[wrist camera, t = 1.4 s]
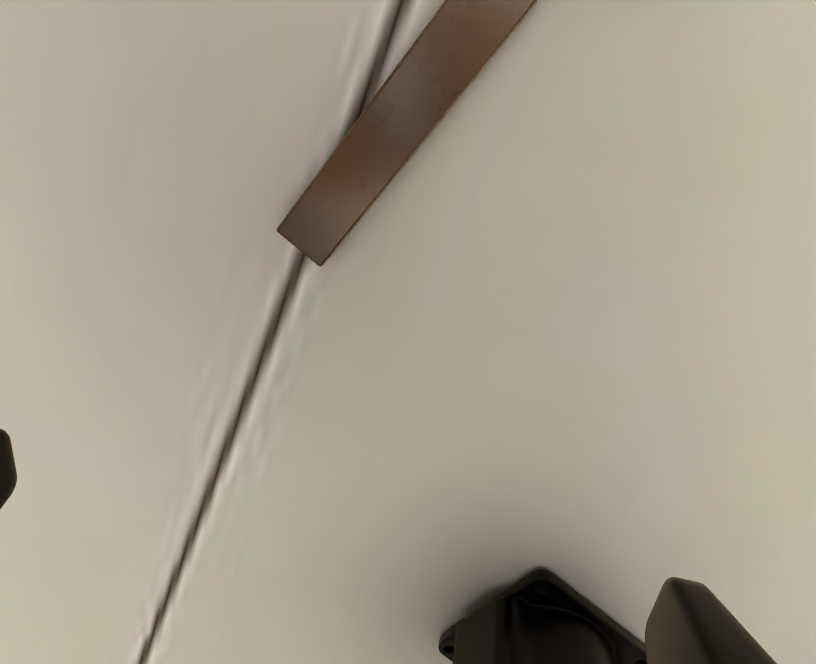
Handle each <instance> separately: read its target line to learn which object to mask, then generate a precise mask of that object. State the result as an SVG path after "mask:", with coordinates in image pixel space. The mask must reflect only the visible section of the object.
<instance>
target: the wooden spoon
mask: <svg viewBox="0 0 816 664" xmlns="http://www.w3.org/2000/svg"><path fill="white" fill-rule="evenodd" d="M536 2H537V0H445V2H444V3H443V5H442V6H441V7H440V9H439V10H438V11H437V13H436V14H435V15H434V17H433V18H432V19H431V21H430V22H429V23H428V25H427V26H426V28H425V29H424V30H423V32H422V33H421V34H420V36H419V37H418V38H417V40H416V41H415V42H414V44H413V45H412V47H411V48H410V49H409V51H408V52H407V53H406V55H405V56H404V57H403V59H402V60H401V61H400V63H399V64H398V65H397V67H396V68H395V70H394V71H393V72H392V74H391V75H390V76H389V78H388V79H387V80H386V82H385V83H384V84H383V86H382V87H381V88H380V90H379V91H378V93H377V94H376V95H375V97H374V98H373V99H372V101H371V102H370V103H369V105H368V106H367V107H366V109H365V110H364V112H363V113H362V114H361V116H360V117H359V118H358V120H357V121H356V122H355V124H354V125H353V126H352V128H351V129H350V130H349V132H348V133H347V135H346V136H345V137H344V139H343V140H342V141H341V143H340V144H339V145H338V147H337V148H336V149H335V151H334V152H333V153H332V155H331V156H330V158H329V159H328V160H327V162H326V163H325V164H324V166H323V167H322V168H321V170H320V171H319V172H318V174H317V175H316V177H315V178H314V179H313V181H312V182H311V183H310V185H309V186H308V187H307V189H306V190H305V191H304V193H303V194H302V195H301V197H300V198H299V200H298V201H297V202H296V204H295V205H294V206H293V208H292V209H291V210H290V212H289V213H288V214H287V216H286V217H285V219H284V220H283V221H282V223H281V224H280V225H279V227H278V228H277V232H278V233H280V234H281V235H282V236H283V237H284V238H286V239H287V240H288V241H289V242H291V243H292V244H293V245H294V246H295V247H297V248H298V249H299V250H300V251H301V252H303V253H304V254H305V255H306V256H307V257H309V258H310V259H311V260H312V261H314V262H315V263H316V264H317V265H318V266H323V265H324V263H325V262H326V261H327V260H328V259H329V258H330V257H331V255H332V254H333V253H334V252H335V250H336V249H337V248H338V247H339V246H340V244H341V243H342V242H343V241H344V239H345V238H346V237H347V236H348V234H349V233H350V232H351V231H352V230H353V228H354V227H355V226H356V225H357V223H358V222H359V221H360V220H361V218H362V217H363V216H364V215H365V213H366V212H367V211H368V210H369V209H370V207H371V206H372V205H373V204H374V202H375V201H376V200H377V199H378V197H379V196H380V195H381V194H382V193H383V191H384V190H385V189H386V188H387V186H388V185H389V184H390V183H391V181H392V180H393V179H394V178H395V176H396V175H397V174H398V173H399V172H400V170H401V169H402V168H403V167H404V165H405V164H406V163H407V162H408V160H409V159H410V158H411V157H412V156H413V154H414V153H415V152H416V151H417V149H418V148H419V147H420V146H421V144H422V143H423V142H424V141H425V139H426V138H427V137H428V136H429V135H430V133H431V132H432V131H433V130H434V128H435V127H436V126H437V125H438V123H439V122H440V121H441V120H442V119H443V117H444V116H445V115H446V114H447V112H448V111H449V110H450V109H451V107H452V106H453V105H454V104H455V102H456V101H457V100H458V99H459V98H460V96H461V95H462V94H463V93H464V91H465V90H466V89H467V88H468V86H469V85H470V84H471V83H472V82H473V80H474V79H475V78H476V77H477V75H478V74H479V73H480V72H481V70H482V69H483V68H484V67H485V65H486V64H487V63H488V62H489V61H490V59H491V58H492V57H493V56H494V54H495V53H496V52H497V51H498V49H499V48H500V47H501V46H502V45H503V43H504V42H505V41H506V40H507V38H508V37H509V36H510V35H511V33H512V32H513V31H514V30H515V28H516V27H517V26H518V25H519V24H520V22H521V21H522V20H523V19H524V17H525V16H526V15H527V14H528V12H529V11H530V10H531V9H532V8H533V6H534V5H535V4H536Z"/></svg>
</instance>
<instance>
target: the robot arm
mask: <svg viewBox="0 0 816 664" xmlns="http://www.w3.org/2000/svg"><path fill="white" fill-rule="evenodd" d="M16 482H17V472H16V467H15V462H14V456H13V451H12V446H11V440H10V437H9V435H8V434H7V433H6V431H4V430H2V429H0V509H1V508H2V506H3V505H4V504H5V502H6V501H7V500H8V498H9V497H10V496H11V494H12V492H13V490H14V488H15V485H16ZM540 583H546V584H540ZM645 644H646V647H645V646H644V645H643V644H641V643H640V642H639V641H638V640H636V639H635V638H634V637H633V636H631V635H630V634H629V633H627V632H626V631H625V630H624V629H622V628H621V627H620V626H618V625H617V624H616V623H615V622H613V621H612V620H611V619H610V618H608V617H607V616H606V615H604V614H603V613H602V612H601V611H599V610H598V609H597V608H596V607H594V606H593V605H592V604H590V603H589V602H588V601H587V600H585V599H584V598H583V597H581V596H580V595H579V594H578V593H576V592H575V591H574V590H573V589H571V588H570V587H569V586H567V585H566V584H565V583H564V582H562V581H561V580H560V579H558V578H557V577H556V576H555V575H553V574H552V573H550V572H549V571H546V570H537V571H535V572H533V573H531V574H530V575H528V576H527V577H525V578H524V579H523V580H521V581H520V582H518V583H517V584H515V585H514V586H512V587H511V588H509V589H508V590H507V591H505V592H504V593H502V594H501V595H499V596H498V597H496V598H494V599H493V600H491V601H490V602H488V603H487V604H485V605H484V606H482V607H481V608H479V609H478V610H477V611H475V612H474V613H472V614H471V615H469V616H468V617H466V618H465V619H463V620H462V621H460V622H459V623H458V624H457V625H456V626H454V627H453V628H451V629H450V630H448V631H447V632H445V633H444V634H442V635H441V637H440V640H439V651H440V652H441V653H442V654H443V655H444V656H446V657H447V658H448V659H450V660H451V661H452V662H453V664H777V663H776V662H775V661H774V660H773V659H772V658H771V657H770V656H769V655H768V653H767V652H766V651H765V650H764V649H763V648H762V647H761V646H760V645H759V644H758V642H757V641H756V640H755V639H754V638H753V637H752V636H751V635H750V634H749V633H748V631H747V630H746V629H745V628H744V627H743V626H742V625H741V624H740V623H739V622H738V621H737V619H736V618H735V617H734V616H733V615H732V614H731V613H730V612H729V611H728V610H727V608H726V607H725V606H724V605H723V604H722V603H721V602H720V601H719V600H718V599H717V597H716V596H715V595H714V594H713V593H712V592H711V591H710V590H709V589H708V588H707V587H706V586H705V585H703V584H701V583H699V582H695V581H690V580H686V579H681V578H677V577H671V578H668V579H667V580H666V581H665V583H664V584H663V586H662V589H661V591H660V593H659V595H658V598H657V600H656V602H655V604H654V607H653V609H652V611H651V613H650V616H649V618H648V621H647V624H646V631H645Z"/></svg>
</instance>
